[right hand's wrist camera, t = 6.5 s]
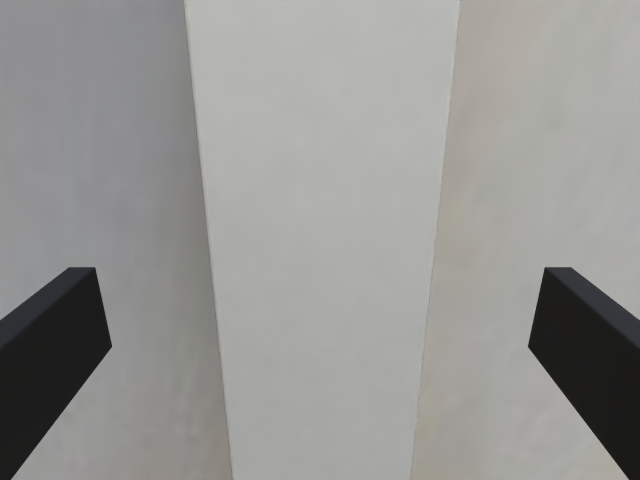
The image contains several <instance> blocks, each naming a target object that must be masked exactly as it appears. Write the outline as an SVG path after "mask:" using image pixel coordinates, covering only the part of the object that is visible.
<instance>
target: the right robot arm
mask: <svg viewBox="0 0 640 480" xmlns="http://www.w3.org/2000/svg"><path fill="white" fill-rule="evenodd" d="M111 347H112V344H111V339H110V334H109V330H108V325H107V320H106V316H105V311H104V306H103V302H102V297H101V292H100V288H99V283H98V278H97V274H96V269H95V267H69V268H68V269H66V270H65V271H64V272H62V273H61V274H60V275H58V276H57V277H56V278H55V279H53V280H52V281H51V282H49V283H48V284H47V285H46V286H44V287H43V288H42V289H40V290H39V291H38V292H36V293H35V294H34V295H33V296H31V297H30V298H29V299H27V300H26V301H25V302H23V303H22V304H21V305H20V306H18V307H17V308H16V309H14V310H13V311H12V312H11V313H9V314H8V315H7V316H5V317H4V318H3V319H1V320H0V480H11V479H12V478H13V476H14V475H15V474H16V472H17V471H18V470H19V468H20V467H21V466H22V464H23V463H24V462H25V460H26V459H27V458H28V457H29V455H30V454H31V453H32V451H33V450H34V449H35V447H36V446H37V445H38V443H39V442H40V441H41V439H42V438H43V437H44V435H45V434H46V433H47V432H48V430H49V429H50V428H51V426H52V425H53V424H54V422H55V421H56V420H57V418H58V417H59V416H60V414H61V413H62V412H63V411H64V409H65V408H66V407H67V405H68V404H69V403H70V401H71V400H72V399H73V397H74V396H75V395H76V393H77V392H78V391H79V389H80V388H81V387H82V386H83V384H84V383H85V382H86V380H87V379H88V378H89V376H90V375H91V374H92V372H93V371H94V370H95V368H96V367H97V366H98V365H99V363H100V362H101V361H102V359H103V358H104V357H105V355H106V354H107V353H108V351H109V350H110V349H111ZM528 347H529V349H530V350H531V351H532V353H533V354H534V355H535V357H536V358H537V359H538V361H539V362H540V363H541V365H542V366H543V367H544V368H545V370H546V371H547V372H548V374H549V375H550V376H551V378H552V379H553V380H554V382H555V383H556V384H557V386H558V387H559V388H560V389H561V391H562V392H563V393H564V395H565V396H566V397H567V399H568V400H569V401H570V403H571V404H572V405H573V407H574V408H575V409H576V411H577V412H578V413H579V414H580V416H581V417H582V418H583V420H584V421H585V422H586V424H587V425H588V426H589V428H590V429H591V430H592V432H593V433H594V434H595V435H596V437H597V438H598V439H599V441H600V442H601V443H602V445H603V446H604V447H605V449H606V450H607V451H608V453H609V454H610V455H611V457H612V458H613V459H614V460H615V462H616V463H617V464H618V466H619V467H620V468H621V470H622V471H623V472H624V474H625V475H626V476H627V478H628V479H629V480H640V320H639V319H637V318H636V317H635V316H633V315H632V314H631V313H629V312H628V311H627V310H626V309H624V308H623V307H622V306H620V305H619V304H618V303H617V302H615V301H614V300H613V299H611V298H610V297H609V296H607V295H606V294H605V293H604V292H602V291H601V290H600V289H598V288H597V287H596V286H594V285H593V284H592V283H591V282H589V281H588V280H587V279H585V278H584V277H583V276H582V275H580V274H579V273H578V272H576V271H575V270H574V269H572V268H571V267H545V269H544V274H543V278H542V283H541V288H540V292H539V297H538V302H537V306H536V311H535V316H534V320H533V325H532V330H531V334H530V339H529V344H528Z"/></svg>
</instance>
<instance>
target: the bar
mask: <svg viewBox="0 0 640 480" xmlns="http://www.w3.org/2000/svg"><path fill="white" fill-rule="evenodd" d="M183 2H184V12H185V21H186V31H187V41H188V51H189V60H190V70H191V80H192V90H193V100H194V109H195V119H196V129H197V139H198V148H199V158H200V168H201V178H202V188H203V197H204V207H205V217H206V227H207V236H208V246H209V256H210V266H211V276H212V285H213V295H214V305H215V315H216V324H217V334H218V344H219V354H220V364H221V373H222V383H223V393H224V403H225V412H226V422H227V432H228V442H229V452H230V461H231V471H232V480H410V479H411V469H412V460H413V450H414V441H415V431H416V422H417V412H418V403H419V393H420V384H421V374H422V365H423V355H424V346H425V336H426V327H427V317H428V308H429V298H430V289H431V280H432V270H433V261H434V251H435V242H436V232H437V223H438V213H439V204H440V194H441V185H442V175H443V166H444V156H445V147H446V137H447V128H448V118H449V109H450V99H451V90H452V80H453V71H454V61H455V52H456V43H457V33H458V24H459V14H460V5H461V0H183Z"/></svg>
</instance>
